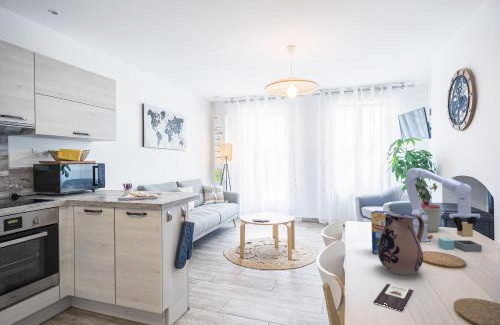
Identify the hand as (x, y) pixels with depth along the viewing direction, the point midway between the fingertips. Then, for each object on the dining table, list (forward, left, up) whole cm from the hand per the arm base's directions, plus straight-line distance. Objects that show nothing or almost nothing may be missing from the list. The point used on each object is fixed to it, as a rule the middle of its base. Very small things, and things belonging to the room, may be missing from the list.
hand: (464, 230), depth 150 cm
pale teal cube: (-10, -1, -10) cm, 14 cm away
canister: (-1, +39, -10) cm, 40 cm away
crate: (0, -2, -10) cm, 10 cm away
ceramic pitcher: (-46, -35, -10) cm, 59 cm away
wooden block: (0, 0, -3) cm, 3 cm away
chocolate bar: (-59, -60, -10) cm, 85 cm away
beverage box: (-46, -13, -10) cm, 49 cm away
